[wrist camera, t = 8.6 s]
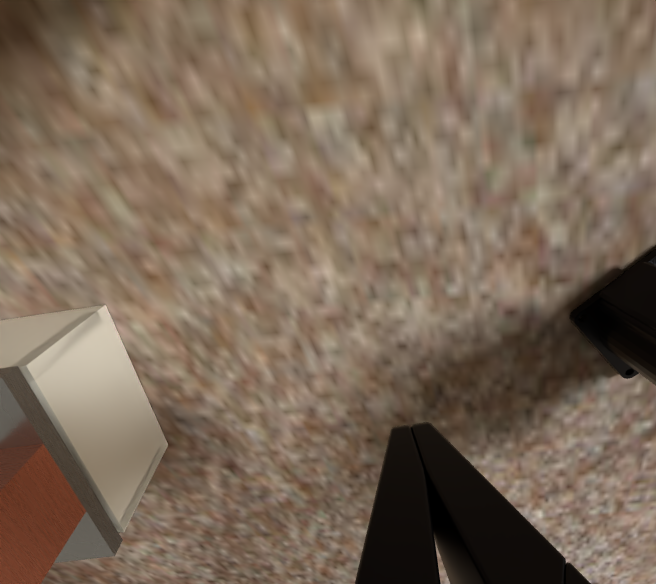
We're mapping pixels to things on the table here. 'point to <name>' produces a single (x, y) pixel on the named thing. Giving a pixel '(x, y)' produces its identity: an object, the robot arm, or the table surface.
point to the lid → (42, 492)
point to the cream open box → (90, 400)
